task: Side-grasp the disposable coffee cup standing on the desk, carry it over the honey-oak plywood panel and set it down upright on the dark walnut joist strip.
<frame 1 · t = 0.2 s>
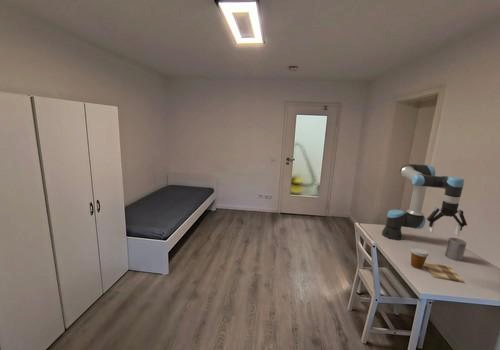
hand: (443, 233, 146), 27 cm above the table, tool pointing down, fingers open, 13 cm apart
subfloor panel: (441, 272, 151), on the table
pillar candle: (453, 257, 170), on the table
disposable coffee cup: (416, 266, 156), on the table
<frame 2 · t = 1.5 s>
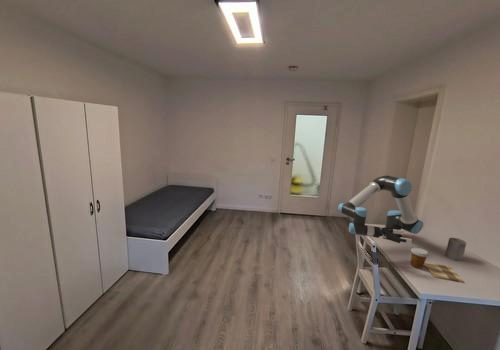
hand: (407, 236, 154), 20 cm above the table, tool horizontal, fingers open, 13 cm apart
nothing on the table moved.
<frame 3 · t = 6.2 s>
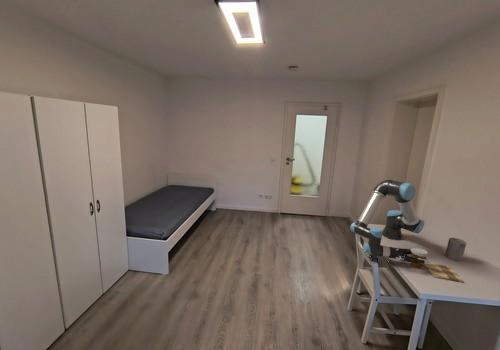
hand: (426, 258, 153), 7 cm above the table, tool horizontal, fingers closed on disposable coffee cup, 8 cm apart
disposable coffee cup: (416, 266, 156), on the table, touching gripper
everything else where it was.
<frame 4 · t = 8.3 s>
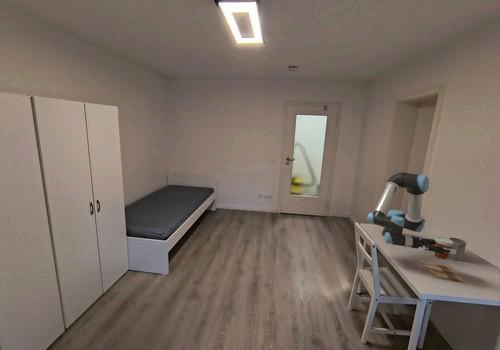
hand: (451, 248, 146), 18 cm above the table, tool horizontal, fingers closed on disposable coffee cup, 8 cm apart
disposable coffee cup: (440, 257, 149), point 11 cm above the table, touching gripper
everything else where it was.
when the fingers open (9 cm above the table, at t = 10.9 s): disposable coffee cup moves 3 cm, resting on subfloor panel.
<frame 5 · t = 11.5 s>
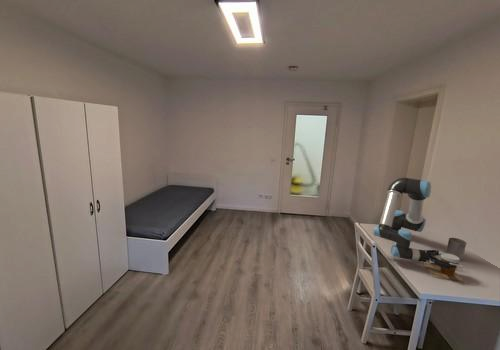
hand: (456, 261, 148), 9 cm above the table, tool horizontal, fingers open, 13 cm apart
disposable coffee cup: (447, 273, 149), point 1 cm above the table, touching gripper, subfloor panel
everything else where it was.
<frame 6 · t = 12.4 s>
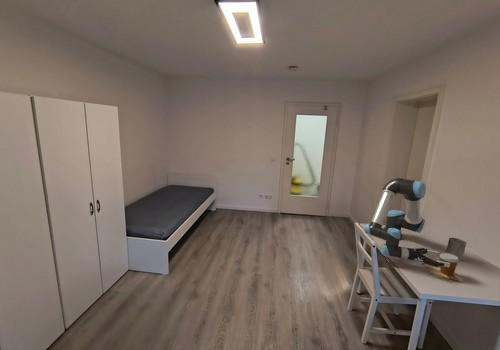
hand: (443, 259, 149), 9 cm above the table, tool horizontal, fingers open, 13 cm apart
disposable coffee cup: (446, 273, 148), point 1 cm above the table, touching subfloor panel
everything else where it was.
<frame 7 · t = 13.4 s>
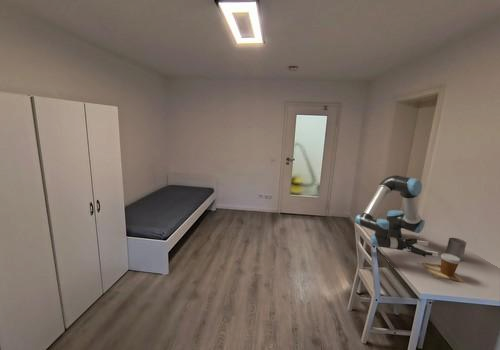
hand: (432, 249, 150), 15 cm above the table, tool horizontal, fingers open, 13 cm apart
nothing on the table moved.
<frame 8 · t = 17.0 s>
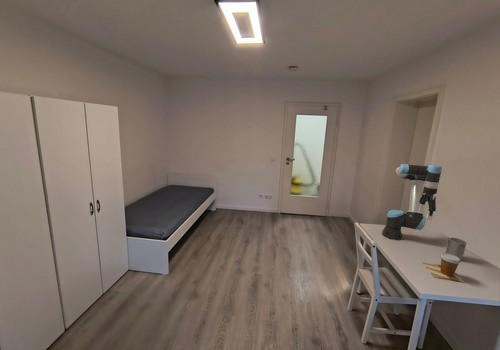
hand: (424, 216, 162), 32 cm above the table, tool pointing down, fingers open, 13 cm apart
nothing on the table moved.
at the end: disposable coffee cup inside the target area (3.0 cm from its centre), point 0.6 cm above the table; disposable coffee cup tilted 0°; the gripper is holding nothing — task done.
